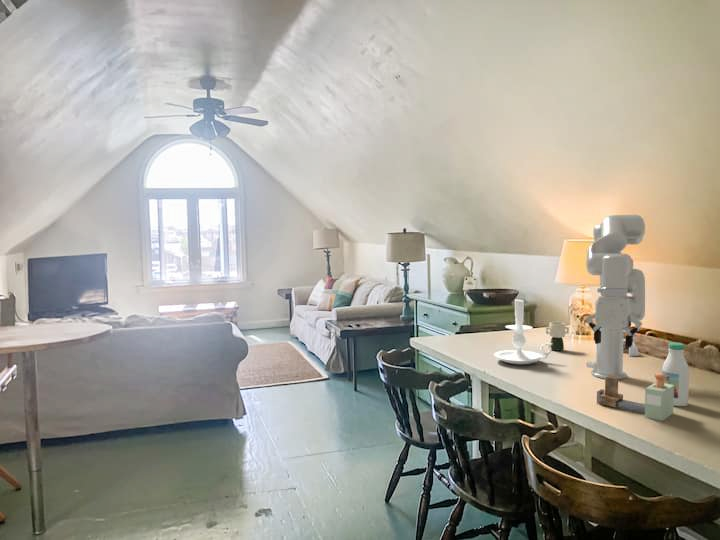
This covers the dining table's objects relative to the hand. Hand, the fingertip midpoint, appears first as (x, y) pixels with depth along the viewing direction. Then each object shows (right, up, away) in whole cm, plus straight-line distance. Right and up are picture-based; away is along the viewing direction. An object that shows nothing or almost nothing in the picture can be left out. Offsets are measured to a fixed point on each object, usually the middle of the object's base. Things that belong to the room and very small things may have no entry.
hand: (612, 345), depth 179 cm
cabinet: (+10, -21, -9) cm, 25 cm away
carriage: (0, -20, +2) cm, 20 cm away
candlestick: (-12, -16, +60) cm, 63 cm away
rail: (+3, -20, -2) cm, 20 cm away
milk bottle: (+22, -20, +3) cm, 29 cm away
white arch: (+40, -14, +81) cm, 92 cm away
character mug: (+12, -14, +83) cm, 85 cm away
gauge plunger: (+10, -14, -9) cm, 20 cm away
